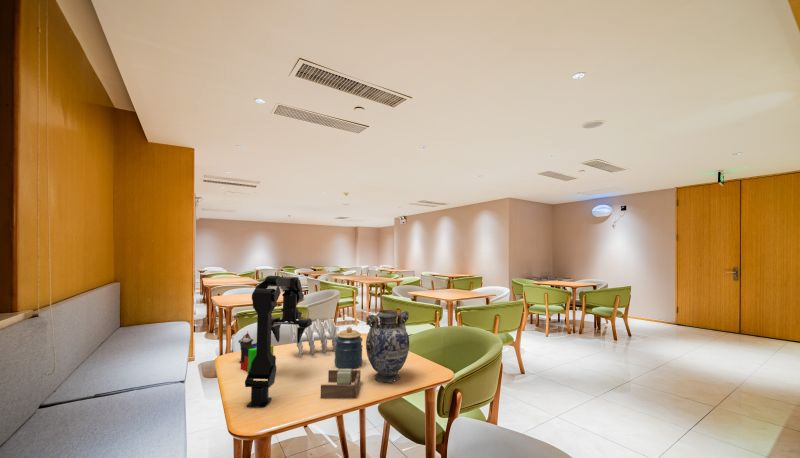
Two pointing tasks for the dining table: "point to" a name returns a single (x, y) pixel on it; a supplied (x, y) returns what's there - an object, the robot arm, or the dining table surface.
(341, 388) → the open wooden frame
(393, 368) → the decorative vase
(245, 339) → the dark lantern
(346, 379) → the block
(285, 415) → the dining table surface
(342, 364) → the canister
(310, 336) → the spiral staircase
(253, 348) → the puzzle toy
